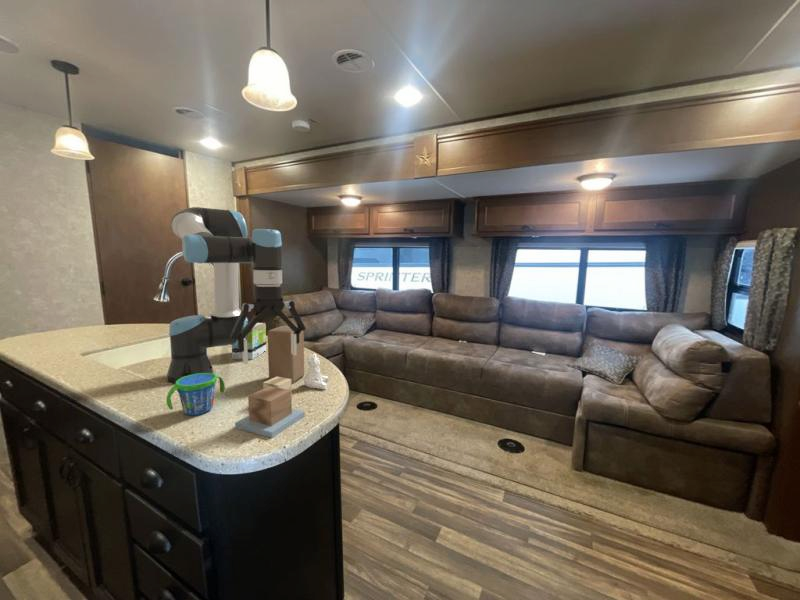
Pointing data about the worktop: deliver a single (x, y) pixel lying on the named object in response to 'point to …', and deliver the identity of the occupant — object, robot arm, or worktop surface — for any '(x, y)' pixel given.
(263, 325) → the tea box
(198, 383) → the snack cup
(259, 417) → the walnut brick
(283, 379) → the oak brick
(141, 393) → the worktop surface
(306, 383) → the sitting furry creature
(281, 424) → the plate
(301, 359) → the block
